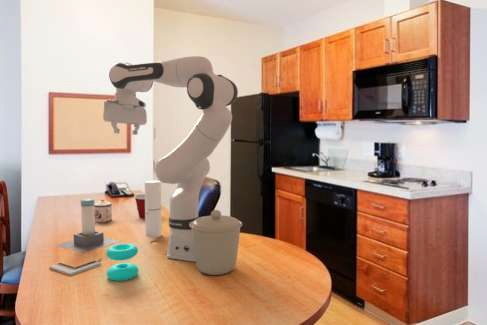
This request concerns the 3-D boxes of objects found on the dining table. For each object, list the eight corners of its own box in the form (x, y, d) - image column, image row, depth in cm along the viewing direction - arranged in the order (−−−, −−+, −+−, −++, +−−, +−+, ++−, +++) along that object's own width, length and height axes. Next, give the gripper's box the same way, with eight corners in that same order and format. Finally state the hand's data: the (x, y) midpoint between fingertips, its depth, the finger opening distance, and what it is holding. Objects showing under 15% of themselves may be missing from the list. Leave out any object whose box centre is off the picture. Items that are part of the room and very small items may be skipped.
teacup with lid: (90, 220, 197) (90, 199, 196) (106, 217, 204) (105, 196, 203) (102, 224, 190) (102, 202, 189) (118, 221, 197) (117, 199, 196)
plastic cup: (142, 220, 199) (142, 198, 198) (130, 217, 205) (130, 195, 204) (158, 216, 208) (158, 195, 207) (146, 213, 214) (145, 193, 213)
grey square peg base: (121, 244, 157) (120, 231, 156) (83, 256, 141) (82, 242, 141) (93, 237, 166) (93, 225, 165) (55, 248, 151) (55, 235, 150)
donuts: (143, 247, 122) (114, 254, 115) (144, 276, 122) (115, 285, 116) (129, 240, 129) (100, 246, 122) (129, 268, 130) (101, 276, 123)
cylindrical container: (157, 238, 166) (156, 183, 164) (142, 237, 167) (141, 182, 165) (164, 233, 173) (163, 180, 171) (149, 232, 174) (148, 180, 172)
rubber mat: (101, 264, 133) (101, 262, 133) (70, 275, 123) (70, 273, 123) (80, 258, 139) (80, 256, 139) (49, 268, 129) (49, 266, 129)
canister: (215, 257, 141) (215, 202, 139) (252, 268, 130) (252, 209, 128) (179, 271, 127) (178, 210, 125) (217, 285, 116) (217, 219, 114)
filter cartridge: (98, 242, 154) (96, 199, 153) (87, 245, 150) (85, 201, 148) (90, 240, 157) (89, 198, 155) (79, 243, 153) (77, 200, 151)
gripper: (109, 97, 149) (109, 131, 149) (148, 104, 166) (149, 134, 165) (99, 99, 152) (100, 132, 152) (139, 105, 169) (140, 135, 169)
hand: (126, 133), depth 159 cm, fingers open, 8 cm apart
